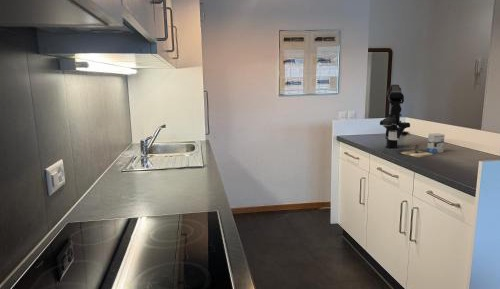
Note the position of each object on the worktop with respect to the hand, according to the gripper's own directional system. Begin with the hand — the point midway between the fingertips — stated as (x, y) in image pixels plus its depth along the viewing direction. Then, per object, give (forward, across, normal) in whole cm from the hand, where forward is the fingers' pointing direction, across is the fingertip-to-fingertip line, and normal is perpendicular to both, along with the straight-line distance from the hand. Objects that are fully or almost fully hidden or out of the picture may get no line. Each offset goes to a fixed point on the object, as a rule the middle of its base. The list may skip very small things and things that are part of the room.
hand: (393, 137), depth 223 cm
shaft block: (+11, +7, +13) cm, 18 cm away
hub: (+1, 0, 0) cm, 1 cm away
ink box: (+11, +9, +28) cm, 31 cm away
